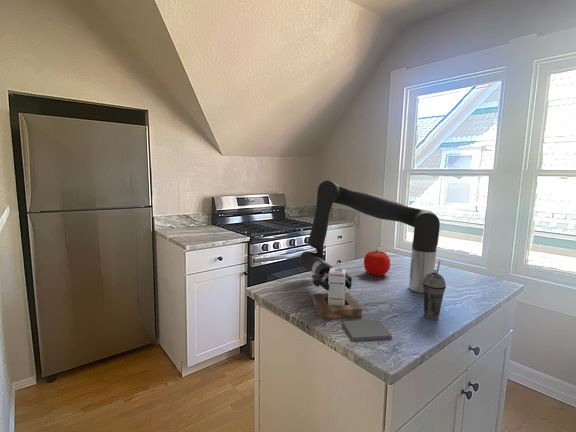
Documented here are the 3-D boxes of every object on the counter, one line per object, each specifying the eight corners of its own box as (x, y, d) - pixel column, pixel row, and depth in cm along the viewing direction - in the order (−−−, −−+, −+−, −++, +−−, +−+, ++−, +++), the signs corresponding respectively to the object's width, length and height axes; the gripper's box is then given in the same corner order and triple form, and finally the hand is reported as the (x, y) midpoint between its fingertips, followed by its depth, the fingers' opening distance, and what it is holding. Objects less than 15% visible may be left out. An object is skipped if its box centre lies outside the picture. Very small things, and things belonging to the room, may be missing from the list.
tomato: (382, 269, 159) (384, 247, 158) (394, 278, 146) (396, 254, 145) (359, 270, 158) (360, 247, 156) (369, 279, 145) (371, 255, 143)
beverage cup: (415, 312, 112) (420, 257, 109) (435, 312, 113) (440, 257, 110) (426, 322, 105) (431, 263, 102) (447, 321, 106) (453, 263, 103)
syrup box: (344, 313, 110) (346, 273, 108) (327, 311, 112) (328, 271, 109) (344, 306, 116) (346, 268, 114) (328, 304, 117) (329, 266, 115)
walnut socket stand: (348, 300, 121) (349, 292, 121) (361, 317, 108) (362, 308, 107) (312, 301, 120) (312, 294, 119) (321, 319, 106) (321, 310, 105)
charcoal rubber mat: (377, 322, 104) (378, 319, 104) (391, 338, 95) (391, 335, 94) (342, 324, 103) (342, 321, 103) (352, 340, 93) (352, 337, 93)
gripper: (306, 263, 124) (319, 277, 108) (341, 261, 127) (358, 275, 111) (306, 282, 125) (319, 298, 109) (340, 279, 128) (357, 295, 112)
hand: (339, 287), depth 110 cm, fingers closed on syrup box, 7 cm apart
